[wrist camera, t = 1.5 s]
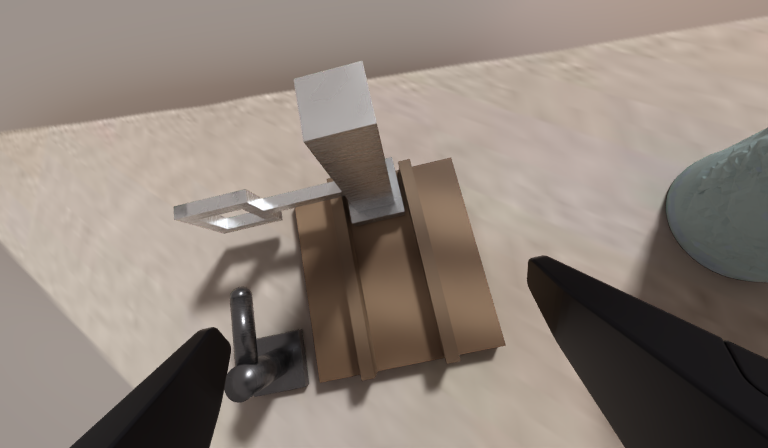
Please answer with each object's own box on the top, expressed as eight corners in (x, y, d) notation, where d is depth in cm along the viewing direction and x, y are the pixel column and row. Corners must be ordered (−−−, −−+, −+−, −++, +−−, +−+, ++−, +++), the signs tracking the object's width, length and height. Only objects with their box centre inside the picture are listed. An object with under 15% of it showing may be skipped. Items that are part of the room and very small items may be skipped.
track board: (500, 341, 19) (513, 350, 16) (325, 377, 19) (312, 390, 17) (448, 164, 22) (453, 148, 19) (299, 200, 22) (284, 189, 20)
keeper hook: (308, 383, 19) (275, 414, 15) (259, 393, 19) (210, 427, 15) (295, 281, 21) (261, 280, 16) (249, 291, 21) (202, 293, 16)
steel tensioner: (405, 215, 20) (395, 138, 9) (228, 255, 20) (41, 224, 10) (392, 163, 21) (371, 41, 10) (224, 203, 21) (49, 127, 11)
